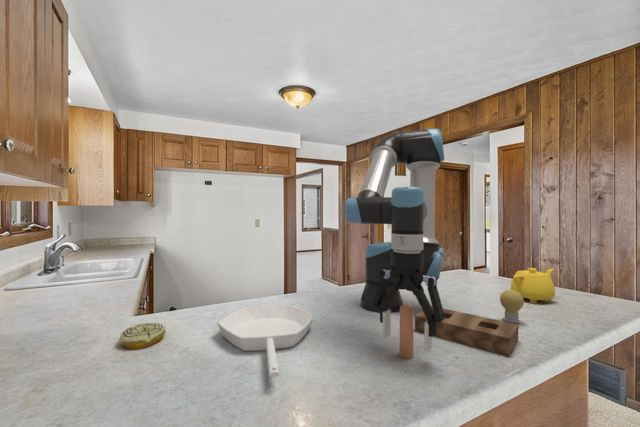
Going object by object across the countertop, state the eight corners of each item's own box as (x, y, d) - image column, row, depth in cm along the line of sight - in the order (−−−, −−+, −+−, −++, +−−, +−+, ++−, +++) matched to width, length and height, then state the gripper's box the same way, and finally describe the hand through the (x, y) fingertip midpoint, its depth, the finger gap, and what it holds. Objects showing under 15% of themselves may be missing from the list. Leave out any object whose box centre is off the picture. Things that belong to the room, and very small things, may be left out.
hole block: (414, 330, 90) (414, 315, 90) (430, 319, 99) (430, 305, 99) (509, 357, 74) (510, 338, 74) (518, 340, 83) (518, 324, 83)
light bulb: (527, 326, 93) (527, 293, 93) (504, 324, 95) (504, 292, 94) (518, 319, 100) (518, 288, 99) (496, 317, 101) (497, 287, 101)
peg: (397, 356, 74) (397, 307, 74) (403, 351, 77) (403, 303, 77) (409, 360, 72) (410, 309, 72) (415, 355, 75) (415, 306, 74)
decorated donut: (110, 351, 77) (110, 336, 77) (133, 334, 88) (133, 321, 88) (153, 350, 78) (153, 335, 78) (171, 333, 88) (171, 320, 88)
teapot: (570, 302, 118) (570, 270, 117) (529, 306, 112) (529, 273, 112) (536, 293, 130) (537, 264, 130) (499, 296, 125) (499, 266, 125)
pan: (307, 315, 103) (307, 302, 103) (341, 384, 63) (341, 362, 63) (221, 321, 97) (221, 307, 97) (199, 402, 57) (199, 378, 57)
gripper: (359, 248, 79) (358, 334, 79) (450, 258, 64) (449, 364, 64) (374, 245, 84) (373, 326, 85) (461, 254, 69) (460, 351, 70)
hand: (406, 342), depth 74 cm, fingers open, 10 cm apart
